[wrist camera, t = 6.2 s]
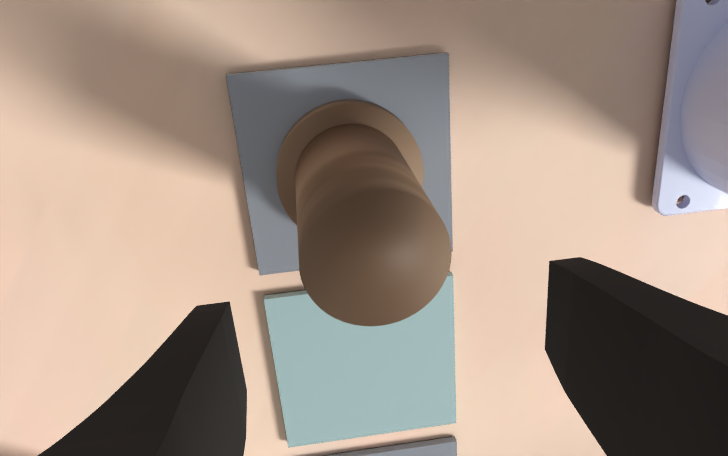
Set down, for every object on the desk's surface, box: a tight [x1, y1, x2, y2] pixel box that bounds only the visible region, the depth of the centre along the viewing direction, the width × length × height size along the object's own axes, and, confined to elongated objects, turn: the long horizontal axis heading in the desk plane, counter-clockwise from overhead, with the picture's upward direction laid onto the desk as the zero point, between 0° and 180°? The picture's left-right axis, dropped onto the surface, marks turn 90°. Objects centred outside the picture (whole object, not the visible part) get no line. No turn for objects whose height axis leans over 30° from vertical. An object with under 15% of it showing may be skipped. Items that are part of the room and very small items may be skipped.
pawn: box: [276, 99, 452, 326], centre depth 17 cm, size 5×5×7 cm
